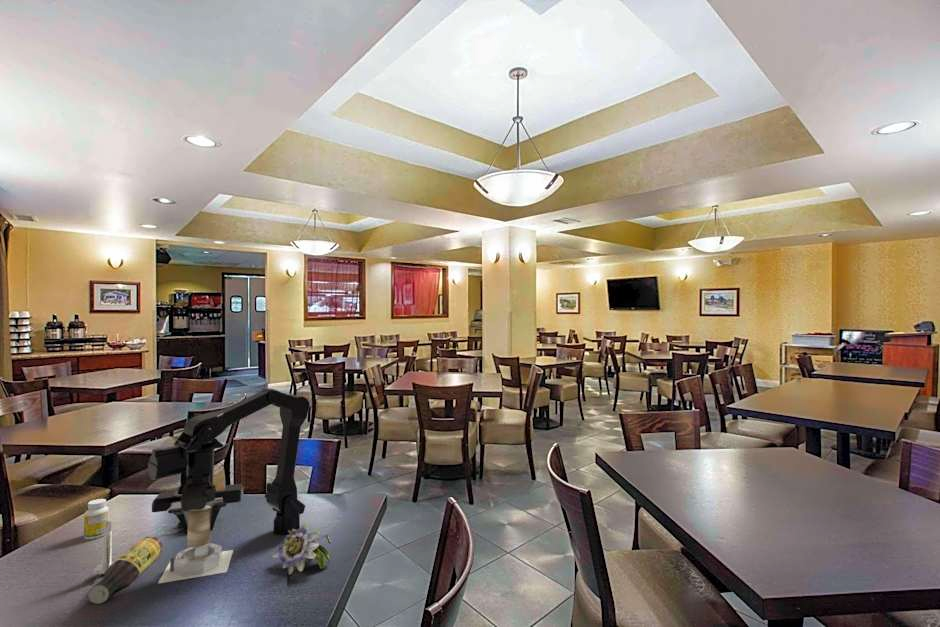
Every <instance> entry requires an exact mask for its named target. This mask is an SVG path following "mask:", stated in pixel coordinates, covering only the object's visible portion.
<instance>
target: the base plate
mask: <svg viewBox="0 0 940 627" xmlns="http://www.w3.org/2000/svg"><path fill="white" fill-rule="evenodd" d="M233 553H234V549H231V550H230V549H228V550H222V557H221V560H220V563H219V566H218V567H216V568H214V569H212V570H210V571H208V572H206V573H205V574H201V575H195V576H189V577H182V576H180V575H177V574H174V571H172V572H170V562H169V563H168V564H167V566H166V568H165V570H164V572H163V573H162V575H161V577H160V578H159V580H158V582H157V584H158V585H160V584H164V583H169V582H170V583H171V582H176V581H181V580H188V579H193V578H200V577H207V576H212V575H218V574H224V573H227V572H228V569H229V567H230V562H231V559H232V556H233ZM201 559H204V558H200V559H194V560H201ZM194 560H192V561H194Z"/></svg>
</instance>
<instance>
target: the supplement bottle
mask: <svg viewBox="0 0 940 627" xmlns="http://www.w3.org/2000/svg"><path fill="white" fill-rule="evenodd" d="M87 508H88V509H87V510H86V511H84V518H83V538H84V539H86V540H96V539H99V537H100V538H103V537H102V536H104V535H103V534H104V523H105V522H107V521H110V519H109V516H110V511H109V510H110V509H109V507H108V506H107V499H106V498H98V499H93V500H90V501H89V502H87ZM95 538H96V539H95Z"/></svg>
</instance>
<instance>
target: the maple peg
mask: <svg viewBox="0 0 940 627" xmlns="http://www.w3.org/2000/svg"><path fill="white" fill-rule="evenodd" d="M211 514H212V507H211V506H205V507H204V508H203V509H201V510H197V509H195V510H189V511H188V530H187V535H186V536H187V537H186V546H187V548H189V547H200V546H204V545H206V544H208V543H211V541H212V531H210V525H211Z"/></svg>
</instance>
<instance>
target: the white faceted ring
mask: <svg viewBox="0 0 940 627" xmlns="http://www.w3.org/2000/svg"><path fill="white" fill-rule="evenodd" d="M222 547H223V546H222V545H220V544H215V543H212V542H209V543H208V544H206V545H204V546H200V547H187V548H186V549H185V548H184V549H182V550H181V551H179V552H178V553H177V554H174V555H171V557H170V559H169V560H170V561H169V563H170V572H172V571H174V574H177V575H180V576H182V577H189V576H195V575H201V574H205V573H206V572H208V571H210V570H212V569H214V568H216V567H218V566H219V563H220V560H221V557H222V551H223V550H222ZM200 558H204V559H201V560H194V559H200ZM192 560H194V561H192Z"/></svg>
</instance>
